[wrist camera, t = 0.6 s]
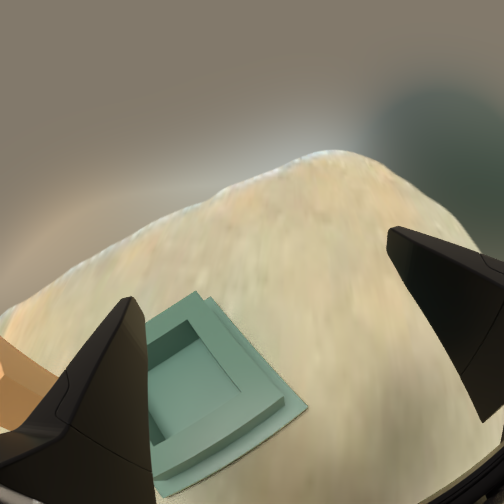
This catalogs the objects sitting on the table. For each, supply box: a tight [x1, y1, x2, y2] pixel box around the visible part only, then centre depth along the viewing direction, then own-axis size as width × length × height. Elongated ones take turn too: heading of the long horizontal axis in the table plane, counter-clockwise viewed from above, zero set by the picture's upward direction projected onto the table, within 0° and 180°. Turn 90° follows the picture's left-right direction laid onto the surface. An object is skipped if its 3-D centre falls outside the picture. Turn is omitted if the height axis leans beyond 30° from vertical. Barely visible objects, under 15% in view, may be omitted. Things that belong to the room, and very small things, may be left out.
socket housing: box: [145, 291, 308, 498], centre depth 20 cm, size 14×14×4 cm
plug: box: [0, 336, 59, 431], centre depth 15 cm, size 5×5×12 cm
